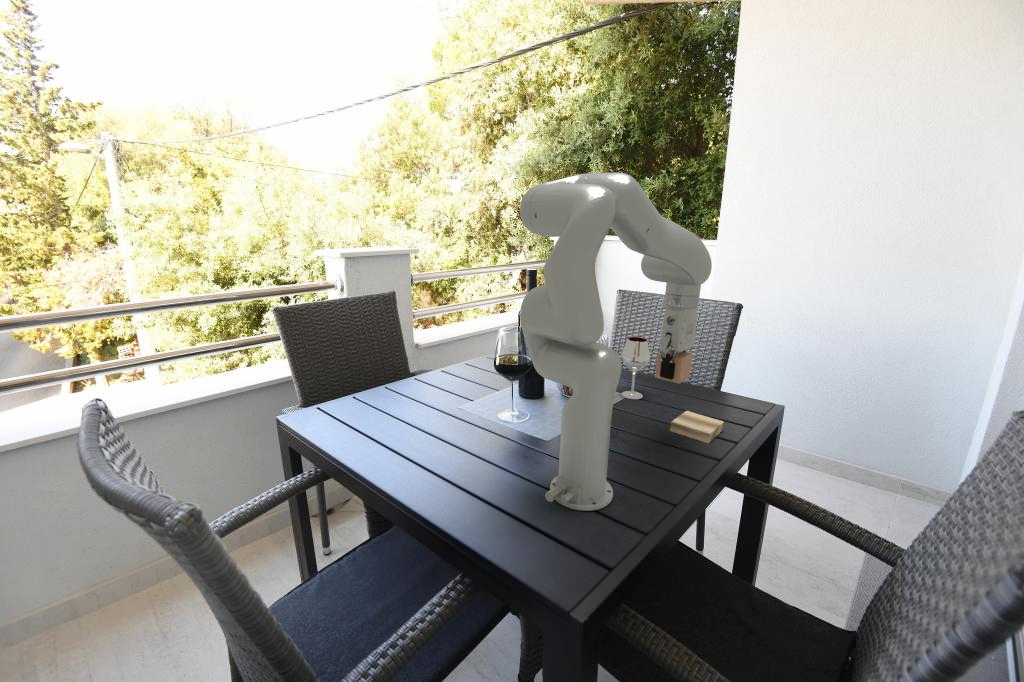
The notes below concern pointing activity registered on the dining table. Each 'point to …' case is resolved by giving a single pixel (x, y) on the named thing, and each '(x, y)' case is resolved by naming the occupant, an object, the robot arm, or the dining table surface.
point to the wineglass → (635, 361)
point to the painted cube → (677, 367)
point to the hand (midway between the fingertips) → (672, 373)
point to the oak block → (697, 426)
